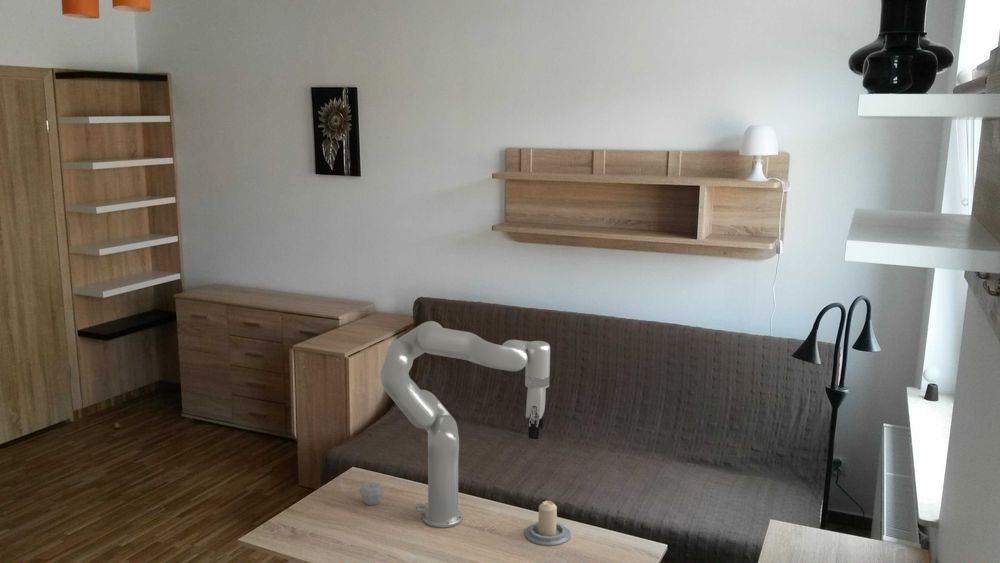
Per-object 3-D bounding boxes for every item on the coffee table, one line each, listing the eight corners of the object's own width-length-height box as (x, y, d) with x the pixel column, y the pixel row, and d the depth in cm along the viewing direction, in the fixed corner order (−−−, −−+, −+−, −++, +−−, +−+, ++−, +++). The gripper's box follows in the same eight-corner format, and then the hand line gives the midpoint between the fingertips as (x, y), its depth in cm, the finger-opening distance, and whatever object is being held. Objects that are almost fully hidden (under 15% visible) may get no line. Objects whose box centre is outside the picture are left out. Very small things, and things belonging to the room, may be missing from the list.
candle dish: (521, 543, 249) (521, 537, 249) (528, 522, 263) (528, 516, 262) (567, 548, 246) (568, 542, 246) (572, 526, 260) (572, 521, 260)
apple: (381, 508, 270) (381, 489, 269) (357, 508, 270) (357, 489, 269) (385, 498, 278) (385, 479, 277) (361, 497, 278) (361, 479, 277)
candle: (554, 538, 251) (555, 507, 250) (536, 536, 252) (537, 505, 251) (557, 529, 257) (558, 499, 255) (539, 527, 258) (540, 497, 256)
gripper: (529, 372, 267) (528, 423, 270) (520, 388, 251) (519, 441, 254) (552, 374, 266) (551, 424, 269) (545, 390, 249) (543, 444, 252)
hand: (535, 433), depth 261 cm, fingers open, 9 cm apart
